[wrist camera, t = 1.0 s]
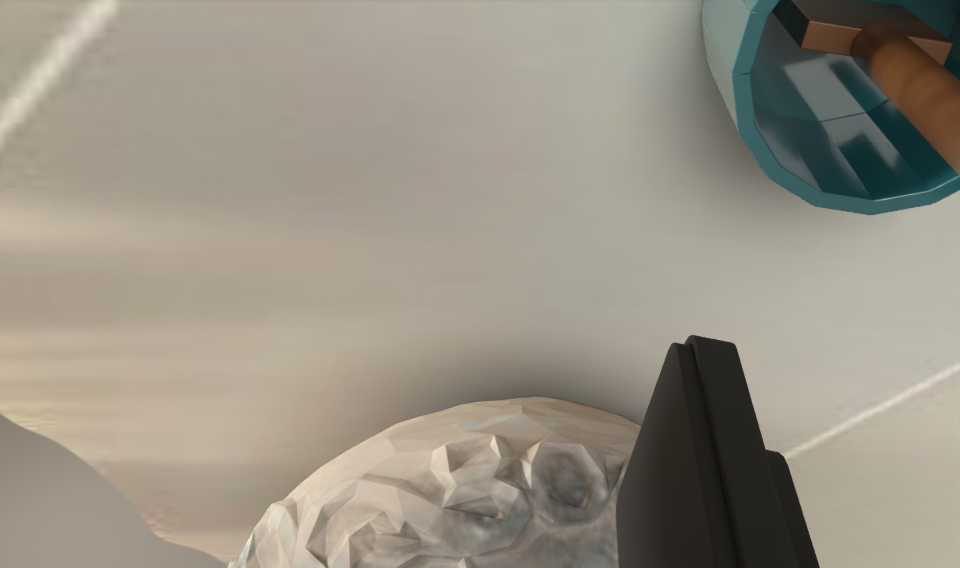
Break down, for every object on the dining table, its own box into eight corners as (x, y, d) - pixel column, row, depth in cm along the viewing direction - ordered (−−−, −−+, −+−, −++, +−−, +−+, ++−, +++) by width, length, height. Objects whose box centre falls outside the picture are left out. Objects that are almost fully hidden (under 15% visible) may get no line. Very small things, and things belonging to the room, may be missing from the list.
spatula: (781, -23, 40) (914, 116, 25) (908, -3, 40) (1119, 150, 25) (768, 20, 41) (887, 179, 26) (891, 40, 41) (1084, 210, 26)
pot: (745, -159, 38) (794, -134, 30) (1024, -114, 38) (1148, -77, 30) (673, 108, 44) (697, 187, 36) (910, 146, 44) (987, 234, 36)
